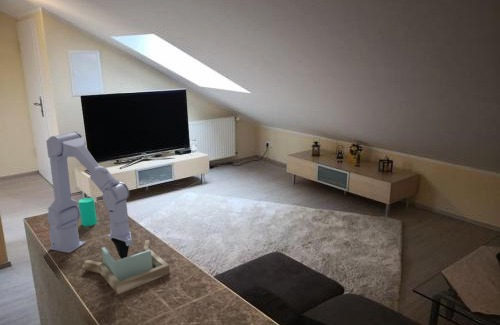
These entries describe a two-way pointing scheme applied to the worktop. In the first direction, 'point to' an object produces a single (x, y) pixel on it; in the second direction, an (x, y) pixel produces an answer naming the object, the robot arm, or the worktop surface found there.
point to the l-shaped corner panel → (127, 264)
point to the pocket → (136, 280)
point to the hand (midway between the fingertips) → (123, 257)
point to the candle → (87, 211)
